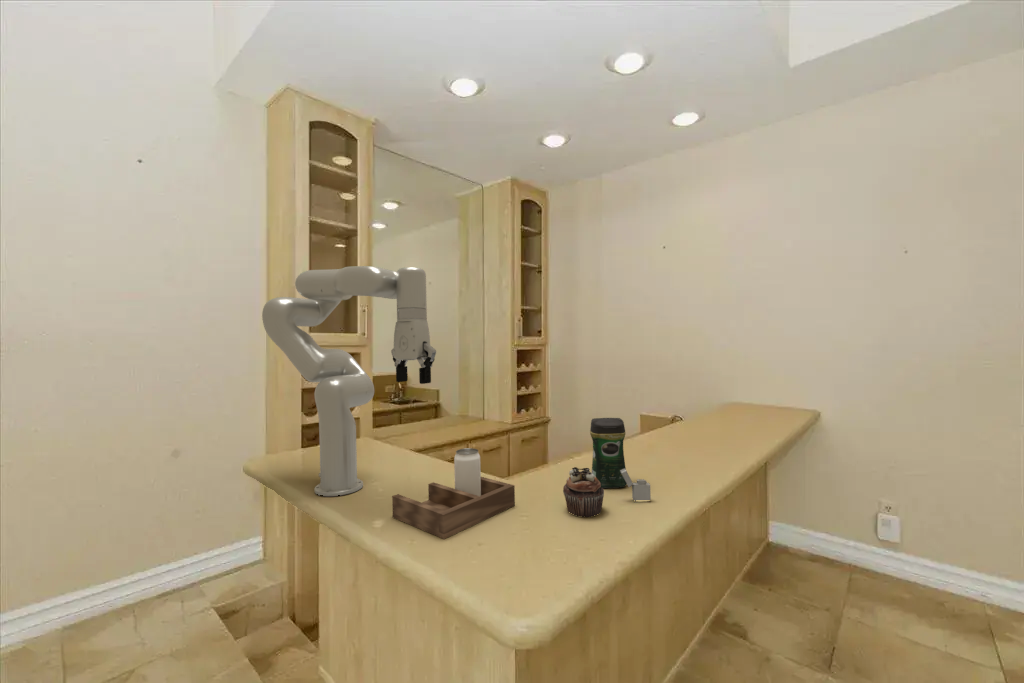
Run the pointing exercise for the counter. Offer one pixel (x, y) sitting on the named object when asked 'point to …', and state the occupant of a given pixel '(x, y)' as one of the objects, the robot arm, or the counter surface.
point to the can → (468, 471)
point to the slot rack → (454, 507)
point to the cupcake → (583, 493)
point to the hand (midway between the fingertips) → (413, 382)
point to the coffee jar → (608, 451)
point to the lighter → (637, 487)
